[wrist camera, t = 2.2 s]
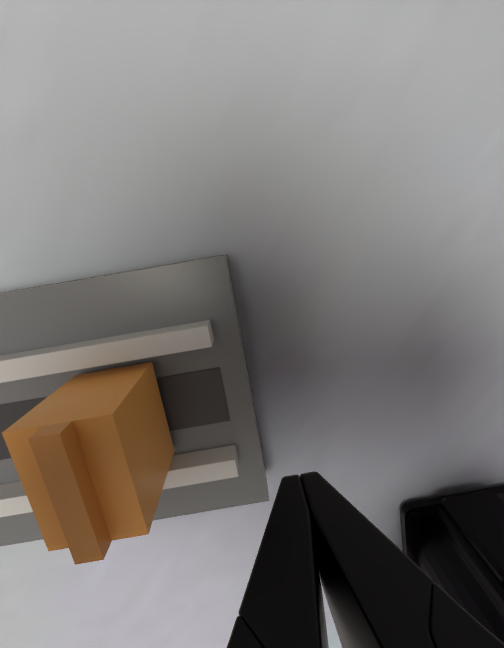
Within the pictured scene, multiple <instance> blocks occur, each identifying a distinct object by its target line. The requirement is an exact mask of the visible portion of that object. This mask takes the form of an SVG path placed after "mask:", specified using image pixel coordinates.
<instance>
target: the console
mask: <svg viewBox="0 0 504 648" xmlns="http://www.w3.org/2000/svg"><path fill="white" fill-rule="evenodd" d="M148 362H152V364H153V368H154V372H155V376H156V380H157V384H158V388H159V392H160V395H161V399H162V403H163V407H164V411H165V415H166V419H167V423H168V427H169V431H170V435H171V439H172V443H173V446H174V450H175V451H174V454H173V458H172V461H171V464H170V467H169V470H168V473H167V477H166V480H165V483H164V486H163V489H162V492H161V496H160V499H159V502H158V505H157V508H156V511H155V515H154V518H153V520H158V519H164V518H170V517H175V516H181V515H187V514H193V513H199V512H205V511H211V510H216V509H222V508H228V507H234V506H240V505H246V504H252V503H257V502H263V501H269V496H268V487H267V479H266V471H265V465H264V460H263V454H262V449H261V443H260V437H259V432H258V426H257V421H256V415H255V410H254V404H253V399H252V393H251V388H250V382H249V376H248V371H247V365H246V360H245V354H244V349H243V343H242V338H241V332H240V327H239V321H238V315H237V310H236V304H235V299H234V293H233V288H232V282H231V277H230V271H229V266H228V260H227V255H221V256H215V257H209V258H204V259H198V260H192V261H186V262H180V263H174V264H168V265H163V266H157V267H151V268H145V269H139V270H133V271H127V272H121V273H116V274H110V275H104V276H98V277H92V278H86V279H80V280H74V281H69V282H63V283H57V284H51V285H45V286H39V287H33V288H27V289H22V290H16V291H10V292H4V293H0V546H6V545H11V544H17V543H23V542H29V541H35V540H41V539H44V538H43V536H42V533H41V531H40V528H39V526H38V523H37V521H36V518H35V515H34V513H33V510H32V508H31V505H30V503H29V500H28V498H27V495H26V493H25V490H24V488H23V485H22V483H21V480H20V478H19V475H18V473H17V470H16V468H15V465H14V463H13V460H12V457H11V455H10V452H9V450H8V447H7V445H6V442H5V440H4V437H3V435H2V432H4V431H5V430H6V429H7V428H9V427H10V426H11V425H12V424H14V423H15V422H16V421H18V420H19V419H20V418H21V417H23V416H24V415H25V414H26V413H28V412H29V411H30V410H32V409H33V408H34V407H35V406H37V405H38V404H39V403H41V402H42V401H43V400H44V399H46V398H47V397H48V396H49V395H51V394H52V393H53V392H55V391H56V390H57V389H58V388H60V387H61V386H62V385H64V384H65V383H66V382H67V381H69V380H70V379H71V378H72V377H74V376H75V375H78V374H84V373H90V372H96V371H102V370H107V369H113V368H119V367H125V366H131V365H137V364H143V363H148Z"/></svg>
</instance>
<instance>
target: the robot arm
mask: <svg viewBox="0 0 504 648" xmlns="http://www.w3.org/2000/svg"><path fill="white" fill-rule="evenodd" d="M412 512H413V513H412ZM401 523H402V539H403V552H402V551H401V550H400V549H399V548H398V547H397V546H396V545H395V544H394V543H393V542H392V541H390V540H389V539H388V538H387V537H386V536H385V535H384V534H383V533H382V532H381V531H380V530H379V529H378V528H377V527H375V526H374V525H373V524H372V523H371V522H370V521H369V520H368V519H367V518H366V517H365V516H364V515H363V514H362V513H360V512H359V511H358V510H357V509H356V508H355V507H354V506H353V505H352V504H351V503H350V502H349V501H348V500H347V499H346V498H344V497H343V496H342V495H341V494H340V493H339V492H338V491H337V490H336V489H335V488H334V487H333V486H332V485H331V484H329V483H328V482H327V481H326V480H325V479H324V478H323V477H322V476H321V475H320V474H319V473H318V472H309V473H303V474H301V475H300V476H299V475H291V476H285V477H283V478H282V480H281V483H280V486H279V489H278V492H277V495H276V499H275V502H274V505H273V508H272V511H271V514H270V517H269V520H268V523H267V526H266V529H265V532H264V536H263V539H262V542H261V545H260V548H259V551H258V554H257V557H256V560H255V563H254V566H253V569H252V573H251V576H250V579H249V582H248V585H247V588H246V591H245V594H244V597H243V600H242V603H241V606H240V610H239V616H238V617H237V618H236V621H235V624H234V627H233V630H232V634H231V637H230V640H229V643H228V645H227V648H329V647H328V638H327V629H326V621H325V612H324V603H323V595H322V588H321V583H322V586H323V589H324V593H325V596H326V599H327V602H328V605H329V608H330V611H331V614H332V617H333V620H334V623H335V626H336V629H337V632H338V635H339V638H340V641H341V644H342V647H343V648H504V486H501V487H495V488H489V489H483V490H477V491H472V492H466V493H460V494H454V495H448V496H442V497H436V498H431V499H425V500H419V501H413V502H408V503H406V504H404V505H403V506H402V508H401ZM320 579H321V581H320Z"/></svg>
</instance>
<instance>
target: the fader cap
mask: <svg viewBox="0 0 504 648" xmlns="http://www.w3.org/2000/svg"><path fill="white" fill-rule="evenodd" d="M2 435H3V437H4V440H5V442H6V445H7V447H8V450H9V452H10V455H11V457H12V460H13V463H14V465H15V468H16V470H17V473H18V475H19V478H20V480H21V483H22V485H23V488H24V490H25V493H26V495H27V498H28V500H29V503H30V505H31V508H32V510H33V513H34V515H35V518H36V521H37V523H38V526H39V528H40V531H41V533H42V536H43V538H44V541H45V543H46V546H47V548H48V551H53V550H59V549H64V548H69V549H70V552H71V555H72V557H73V560H74V563H75V564H81V563H86V562H92V561H98V560H104V557H105V555H106V553H107V550H108V548H109V546H110V543H111V541H112V540H117V539H123V538H129V537H135V536H141V535H146V534H149V531H150V527H151V524H152V521H153V518H154V515H155V511H156V508H157V505H158V502H159V499H160V496H161V492H162V489H163V486H164V483H165V480H166V477H167V473H168V470H169V467H170V464H171V461H172V458H173V454H174V451H175V450H174V446H173V443H172V439H171V435H170V431H169V427H168V423H167V419H166V415H165V411H164V407H163V403H162V399H161V395H160V392H159V388H158V384H157V380H156V376H155V372H154V368H153V364H152V362H148V363H143V364H137V365H131V366H125V367H119V368H113V369H107V370H102V371H96V372H90V373H84V374H78V375H75V376H74V377H72V378H71V379H70V380H69V381H67V382H66V383H65V384H64V385H62V386H61V387H60V388H58V389H57V390H56V391H55V392H53V393H52V394H51V395H49V396H48V397H47V398H46V399H44V400H43V401H42V402H41V403H39V404H38V405H37V406H35V407H34V408H33V409H32V410H30V411H29V412H28V413H26V414H25V415H24V416H23V417H21V418H20V419H19V420H18V421H16V422H15V423H14V424H12V425H11V426H10V427H9V428H7V429H6V430H5V431H4V432H2Z"/></svg>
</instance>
